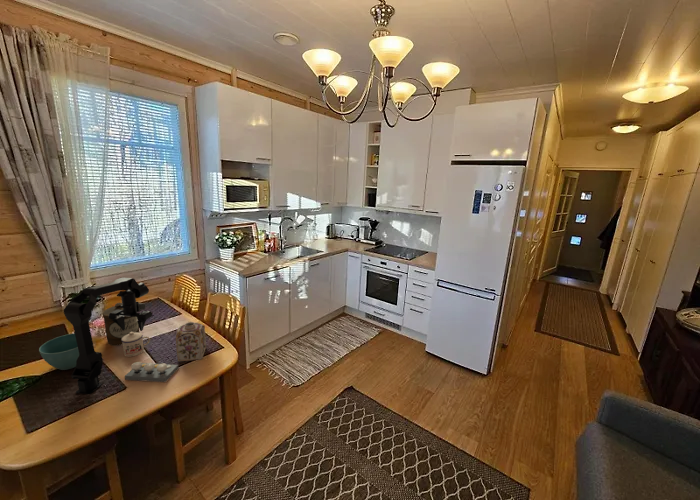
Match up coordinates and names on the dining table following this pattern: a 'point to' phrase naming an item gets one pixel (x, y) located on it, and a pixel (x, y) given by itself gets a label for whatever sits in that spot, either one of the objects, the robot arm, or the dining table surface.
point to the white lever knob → (161, 368)
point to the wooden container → (114, 330)
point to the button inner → (136, 366)
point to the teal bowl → (61, 352)
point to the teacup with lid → (133, 343)
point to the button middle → (149, 367)
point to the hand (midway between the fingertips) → (132, 330)
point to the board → (152, 374)
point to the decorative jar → (190, 342)
